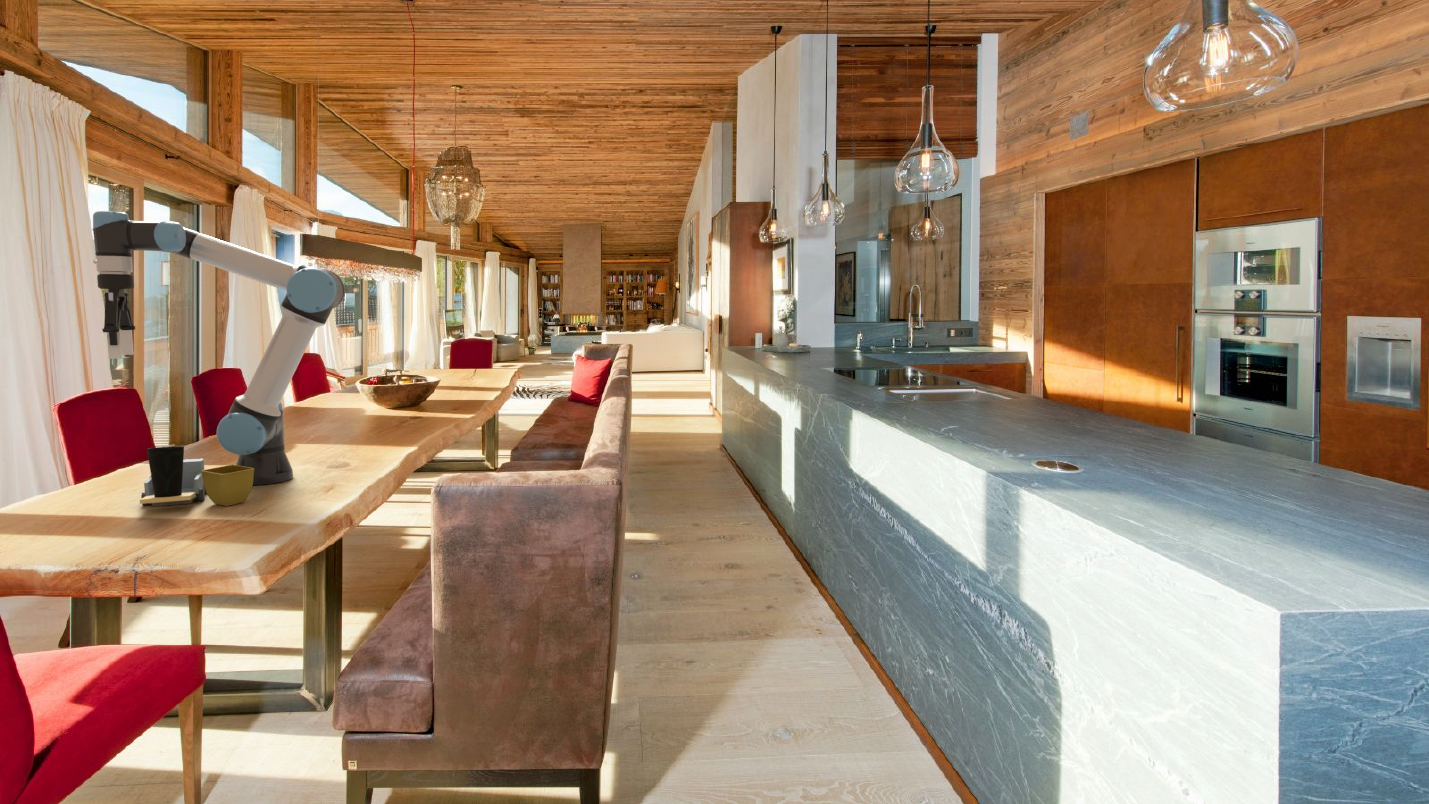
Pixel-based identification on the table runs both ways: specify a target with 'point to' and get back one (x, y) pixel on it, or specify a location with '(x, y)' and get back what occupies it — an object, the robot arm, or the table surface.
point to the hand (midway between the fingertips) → (121, 356)
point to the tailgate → (167, 498)
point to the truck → (183, 483)
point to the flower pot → (228, 484)
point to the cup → (166, 470)
